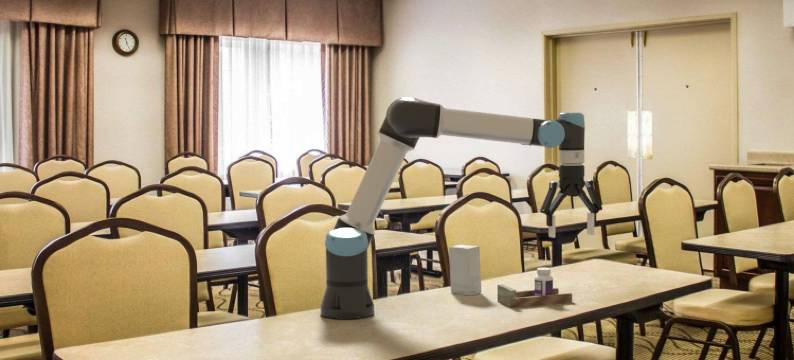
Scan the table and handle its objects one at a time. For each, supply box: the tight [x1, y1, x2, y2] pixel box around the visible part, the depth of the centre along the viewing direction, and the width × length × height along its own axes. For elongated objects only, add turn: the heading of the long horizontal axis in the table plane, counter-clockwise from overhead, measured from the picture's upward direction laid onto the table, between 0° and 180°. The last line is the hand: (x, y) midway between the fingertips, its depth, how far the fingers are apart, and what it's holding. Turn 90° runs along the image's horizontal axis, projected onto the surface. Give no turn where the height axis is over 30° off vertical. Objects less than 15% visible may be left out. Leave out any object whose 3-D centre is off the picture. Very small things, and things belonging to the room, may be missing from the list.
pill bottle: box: [534, 267, 554, 296], centre depth 267 cm, size 5×5×10 cm
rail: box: [497, 284, 573, 308], centre depth 267 cm, size 20×9×5 cm, turn 110°
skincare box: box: [448, 244, 482, 296], centre depth 279 cm, size 8×6×15 cm
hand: (571, 235), depth 270 cm, fingers open, 12 cm apart
